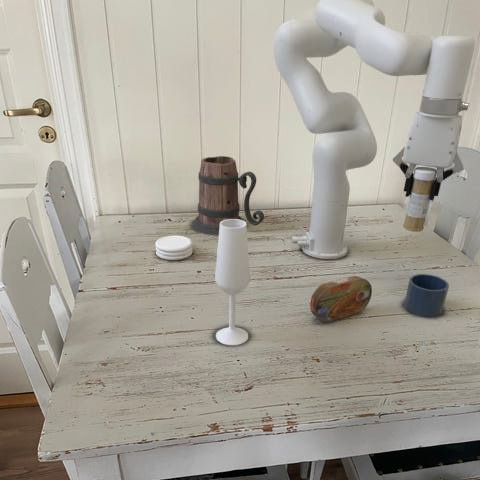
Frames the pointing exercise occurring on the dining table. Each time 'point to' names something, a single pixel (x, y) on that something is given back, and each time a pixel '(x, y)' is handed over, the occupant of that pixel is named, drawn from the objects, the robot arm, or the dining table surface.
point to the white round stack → (174, 247)
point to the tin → (340, 298)
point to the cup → (426, 295)
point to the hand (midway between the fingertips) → (420, 196)
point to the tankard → (222, 194)
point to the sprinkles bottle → (419, 198)
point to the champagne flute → (232, 273)
